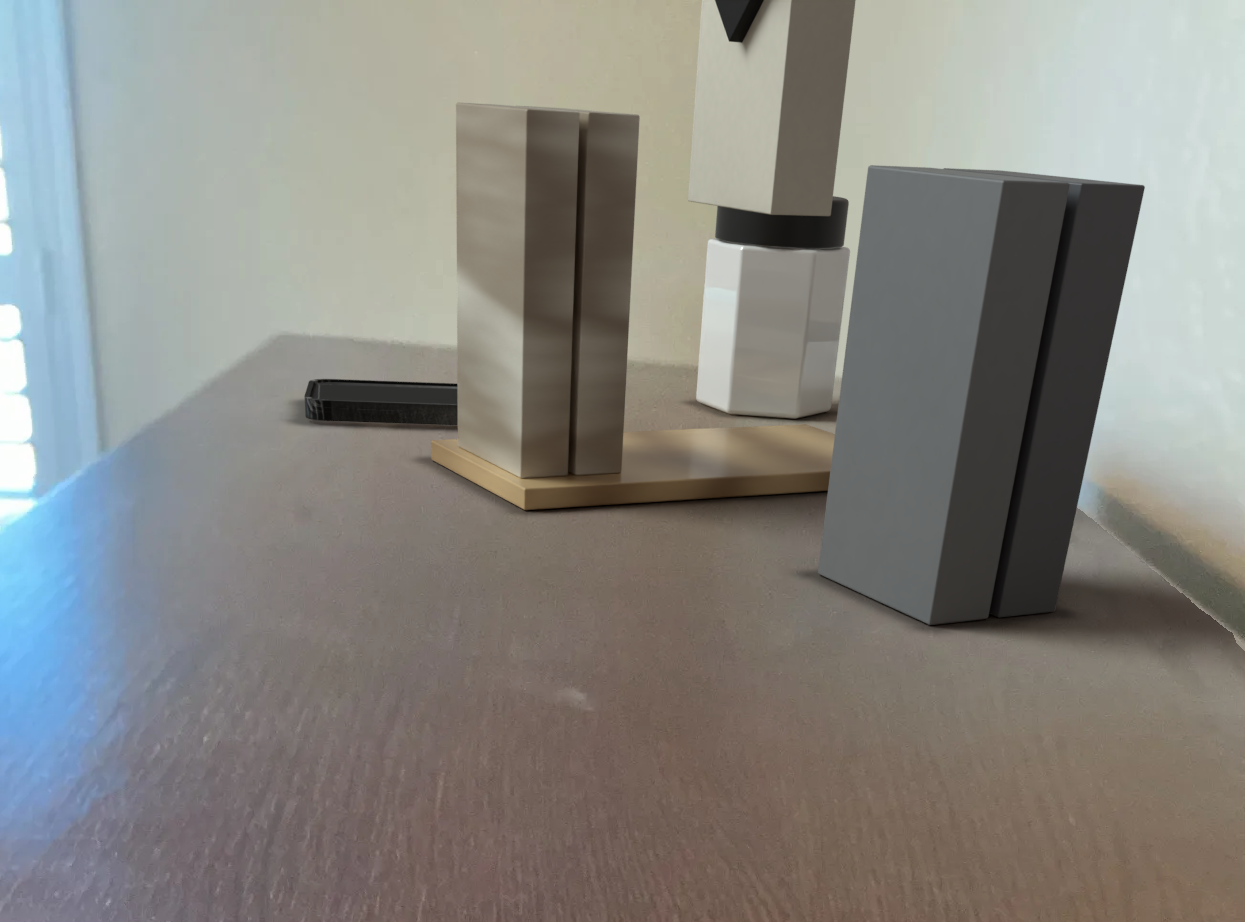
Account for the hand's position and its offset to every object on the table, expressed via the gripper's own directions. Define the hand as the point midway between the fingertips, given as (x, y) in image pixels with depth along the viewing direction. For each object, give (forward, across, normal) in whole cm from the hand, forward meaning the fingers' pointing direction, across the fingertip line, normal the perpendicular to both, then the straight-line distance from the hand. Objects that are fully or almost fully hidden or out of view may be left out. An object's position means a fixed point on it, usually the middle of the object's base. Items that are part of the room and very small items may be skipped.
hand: (765, 20), depth 73 cm
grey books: (-3, -4, -32) cm, 32 cm away
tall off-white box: (+5, 0, -6) cm, 8 cm away
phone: (+26, -10, -2) cm, 28 cm away
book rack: (+14, -3, -14) cm, 20 cm away
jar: (+26, +13, -3) cm, 29 cm away
